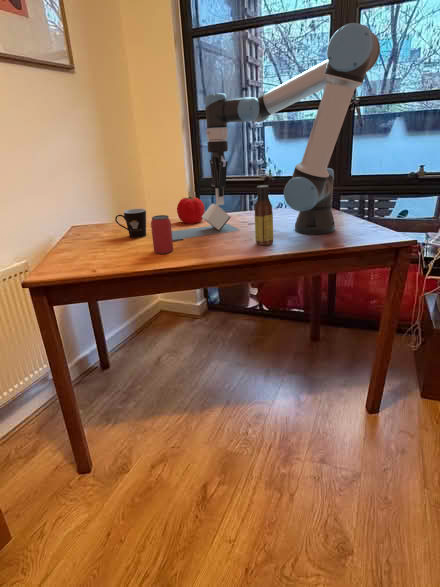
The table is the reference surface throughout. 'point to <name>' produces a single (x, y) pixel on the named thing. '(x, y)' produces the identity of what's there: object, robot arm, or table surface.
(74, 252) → the table surface
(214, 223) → the cream block
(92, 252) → the table surface
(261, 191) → the sauce bottle
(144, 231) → the coffee mug
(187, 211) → the tomato
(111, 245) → the table surface
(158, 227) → the beer can
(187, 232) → the rubber mat
